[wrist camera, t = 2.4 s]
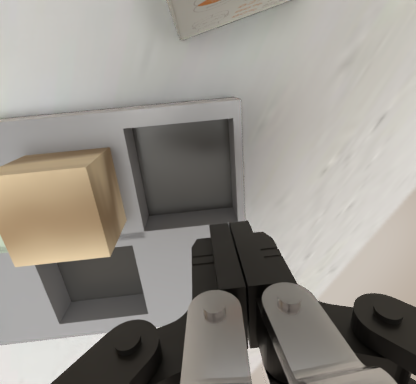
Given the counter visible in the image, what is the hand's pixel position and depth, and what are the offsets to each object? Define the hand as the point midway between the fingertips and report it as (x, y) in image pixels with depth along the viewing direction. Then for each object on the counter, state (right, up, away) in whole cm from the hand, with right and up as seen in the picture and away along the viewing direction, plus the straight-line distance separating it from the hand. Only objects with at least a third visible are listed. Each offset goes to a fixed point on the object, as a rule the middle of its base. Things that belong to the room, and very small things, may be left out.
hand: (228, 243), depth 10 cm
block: (-9, +2, +6) cm, 11 cm away
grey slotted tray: (-9, -1, +10) cm, 14 cm away
